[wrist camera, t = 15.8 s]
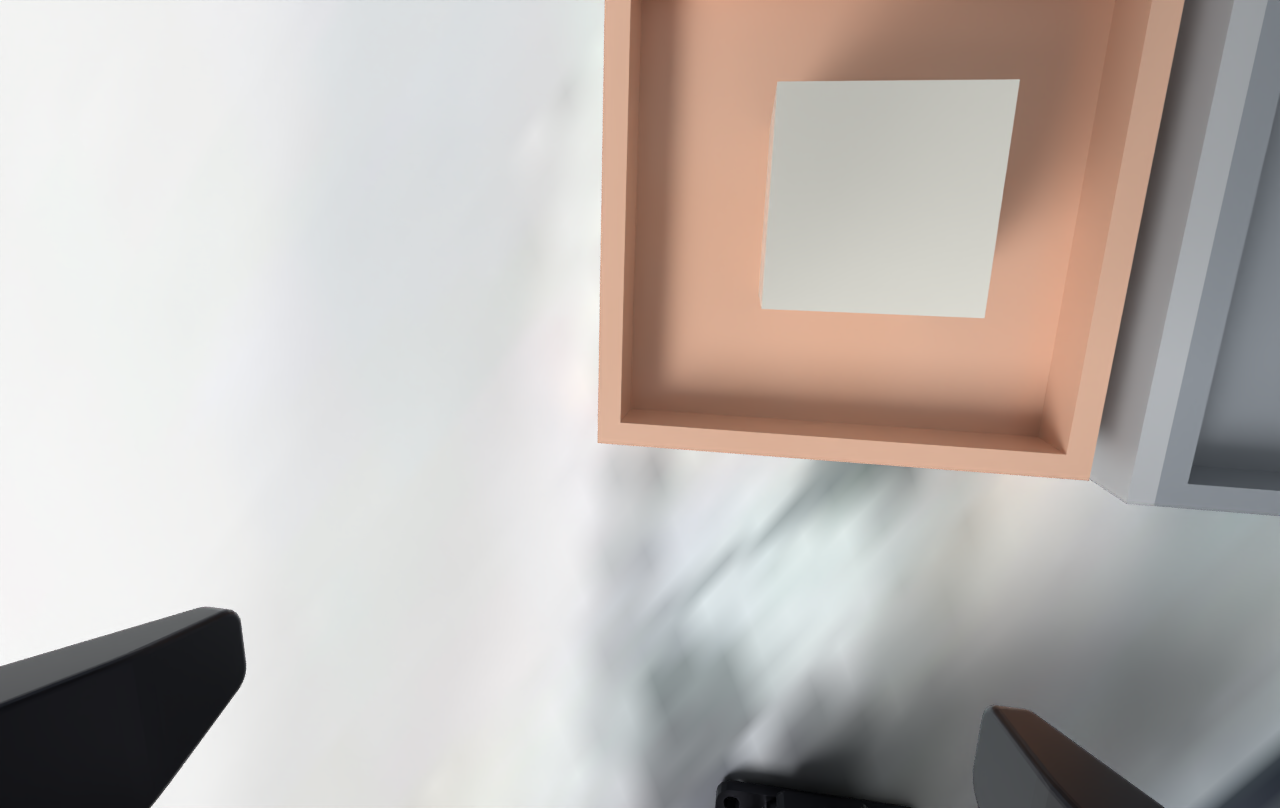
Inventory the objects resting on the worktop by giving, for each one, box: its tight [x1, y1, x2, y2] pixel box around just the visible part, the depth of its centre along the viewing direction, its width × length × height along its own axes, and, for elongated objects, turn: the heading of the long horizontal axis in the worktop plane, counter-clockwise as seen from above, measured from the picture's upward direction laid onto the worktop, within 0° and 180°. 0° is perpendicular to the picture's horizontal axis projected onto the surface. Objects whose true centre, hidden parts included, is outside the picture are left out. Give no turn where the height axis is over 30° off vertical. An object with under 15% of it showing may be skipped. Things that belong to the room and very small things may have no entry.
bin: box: [598, 0, 1185, 481], centre depth 16 cm, size 12×12×2 cm
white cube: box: [758, 79, 1020, 318], centre depth 15 cm, size 4×4×4 cm
